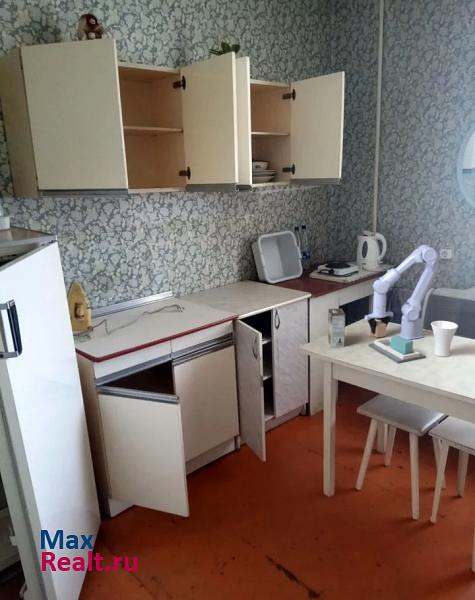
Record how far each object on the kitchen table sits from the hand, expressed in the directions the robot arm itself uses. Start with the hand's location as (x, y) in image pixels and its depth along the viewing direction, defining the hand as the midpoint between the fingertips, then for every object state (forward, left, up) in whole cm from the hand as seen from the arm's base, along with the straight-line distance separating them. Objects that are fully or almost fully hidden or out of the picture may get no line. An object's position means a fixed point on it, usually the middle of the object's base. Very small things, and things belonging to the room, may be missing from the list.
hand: (378, 332), depth 223 cm
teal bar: (+4, +22, -1) cm, 23 cm away
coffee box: (+23, 0, -2) cm, 23 cm away
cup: (-12, +29, -2) cm, 31 cm away
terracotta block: (0, 0, -1) cm, 1 cm away
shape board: (+4, +19, -2) cm, 20 cm away
